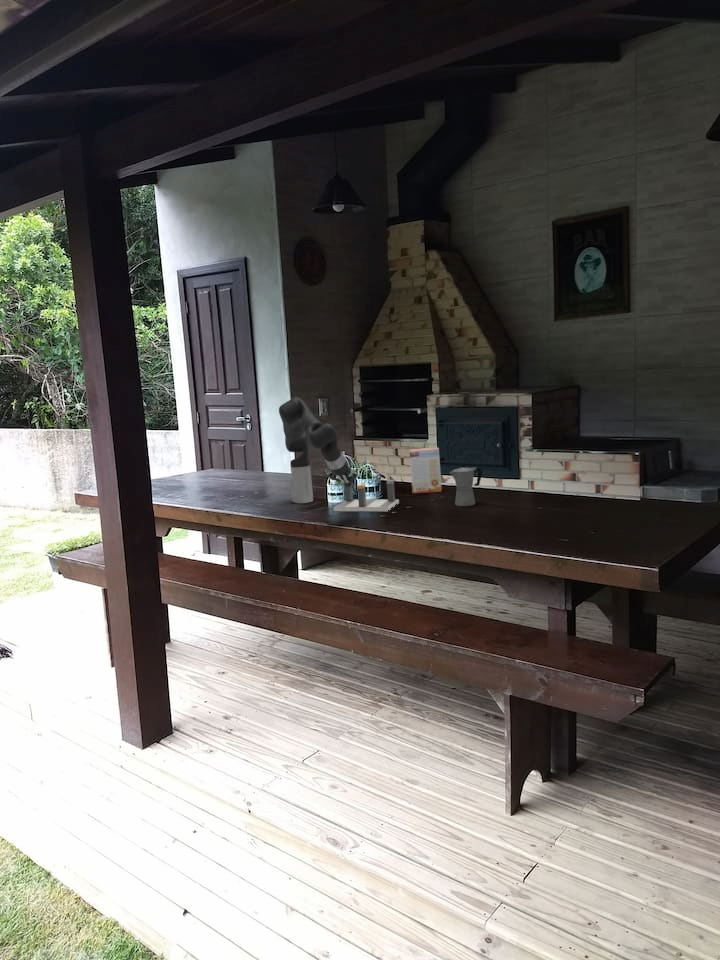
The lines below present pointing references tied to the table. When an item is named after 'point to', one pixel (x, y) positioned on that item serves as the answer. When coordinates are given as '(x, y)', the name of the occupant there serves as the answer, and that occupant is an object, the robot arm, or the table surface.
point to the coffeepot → (465, 484)
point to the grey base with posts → (369, 501)
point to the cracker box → (425, 470)
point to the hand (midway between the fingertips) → (349, 485)
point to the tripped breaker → (361, 495)
